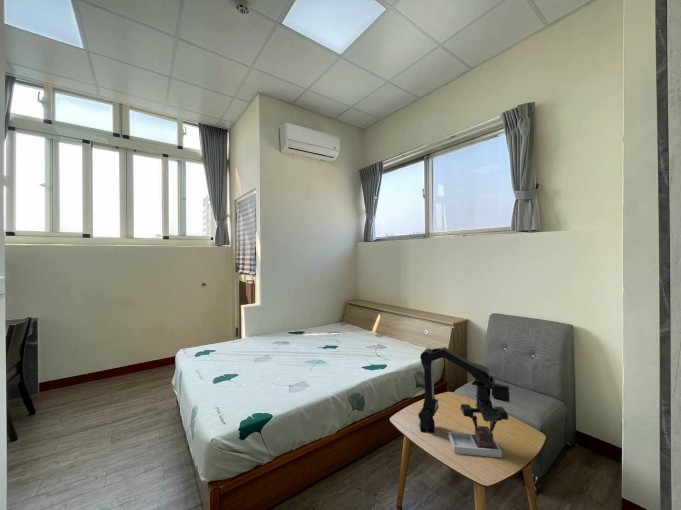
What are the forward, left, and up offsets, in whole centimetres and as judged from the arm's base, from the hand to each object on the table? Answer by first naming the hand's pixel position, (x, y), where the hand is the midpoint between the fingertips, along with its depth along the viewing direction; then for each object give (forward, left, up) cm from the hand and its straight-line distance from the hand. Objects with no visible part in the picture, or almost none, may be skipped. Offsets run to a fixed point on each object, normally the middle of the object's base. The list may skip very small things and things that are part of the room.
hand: (483, 430), depth 123 cm
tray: (-5, 0, -8) cm, 9 cm away
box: (0, 0, -7) cm, 7 cm away
